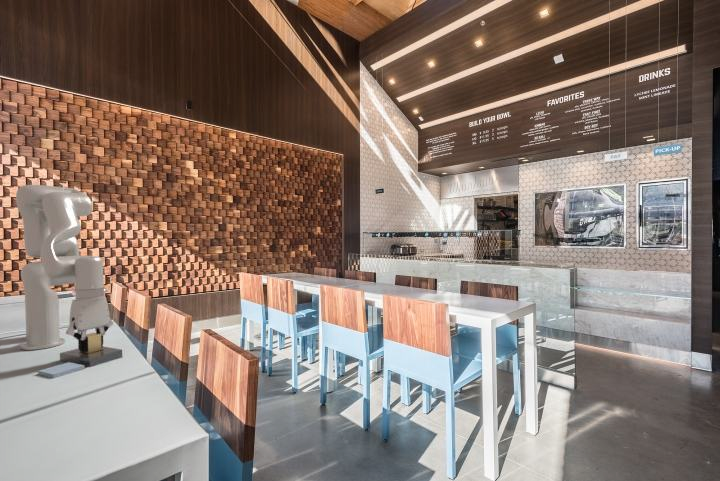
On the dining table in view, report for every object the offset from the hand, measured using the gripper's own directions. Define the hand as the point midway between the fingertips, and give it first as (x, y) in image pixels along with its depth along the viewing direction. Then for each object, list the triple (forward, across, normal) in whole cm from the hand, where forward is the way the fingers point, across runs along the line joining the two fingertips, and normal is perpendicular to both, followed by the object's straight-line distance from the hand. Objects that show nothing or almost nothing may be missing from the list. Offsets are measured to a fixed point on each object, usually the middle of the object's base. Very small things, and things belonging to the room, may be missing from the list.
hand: (91, 349), depth 121 cm
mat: (+3, +10, +4) cm, 12 cm away
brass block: (+3, 0, 0) cm, 3 cm away
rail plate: (+3, 0, 0) cm, 3 cm away
